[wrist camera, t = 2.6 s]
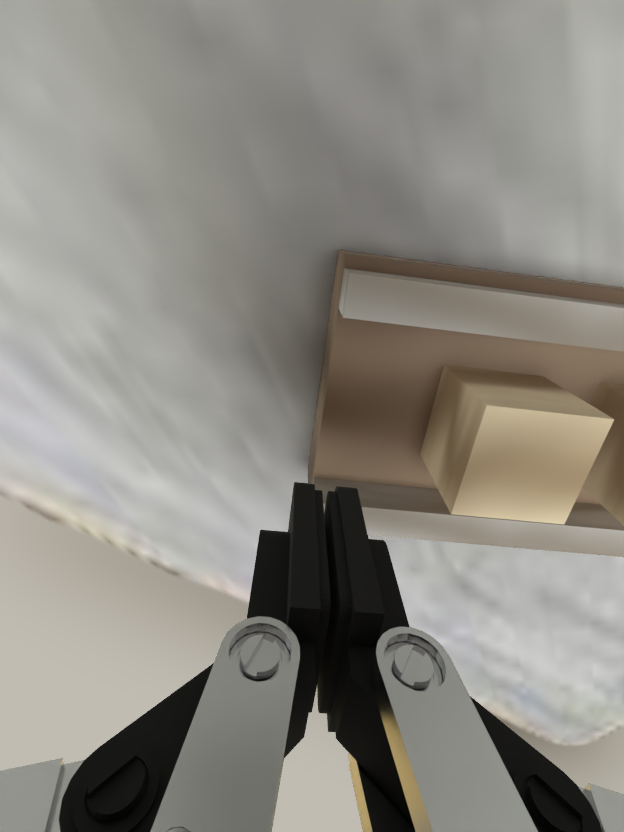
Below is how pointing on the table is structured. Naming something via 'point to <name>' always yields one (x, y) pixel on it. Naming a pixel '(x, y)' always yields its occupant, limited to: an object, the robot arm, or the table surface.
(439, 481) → the tan wooden cube
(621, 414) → the pale yellow cube
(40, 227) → the table surface
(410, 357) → the brown wooden channel
